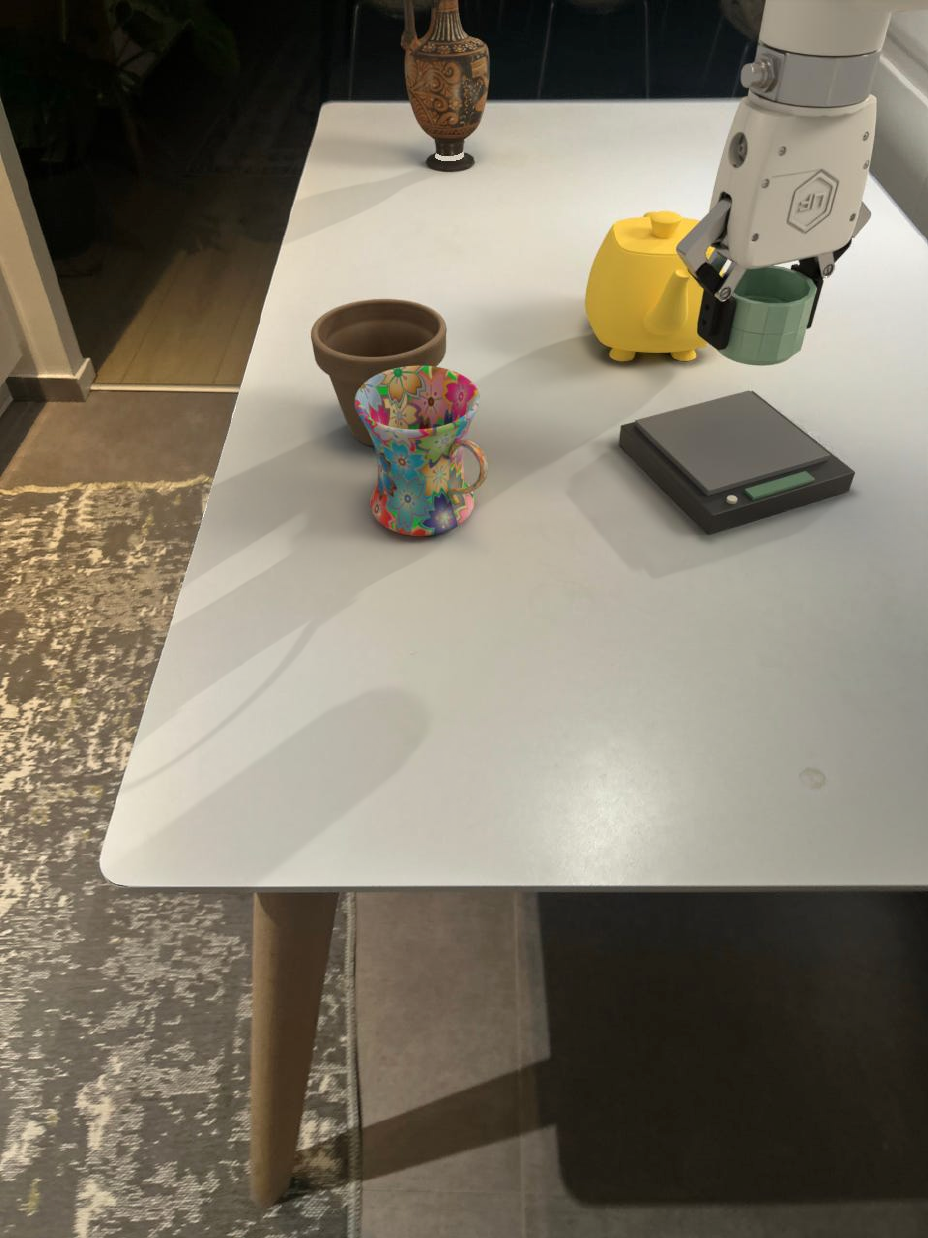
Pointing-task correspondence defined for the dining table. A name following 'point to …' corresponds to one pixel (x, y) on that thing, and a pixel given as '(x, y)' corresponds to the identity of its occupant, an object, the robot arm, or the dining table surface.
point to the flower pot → (374, 346)
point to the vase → (445, 81)
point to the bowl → (769, 315)
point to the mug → (421, 447)
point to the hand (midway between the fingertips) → (753, 330)
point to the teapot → (645, 289)
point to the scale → (733, 460)
